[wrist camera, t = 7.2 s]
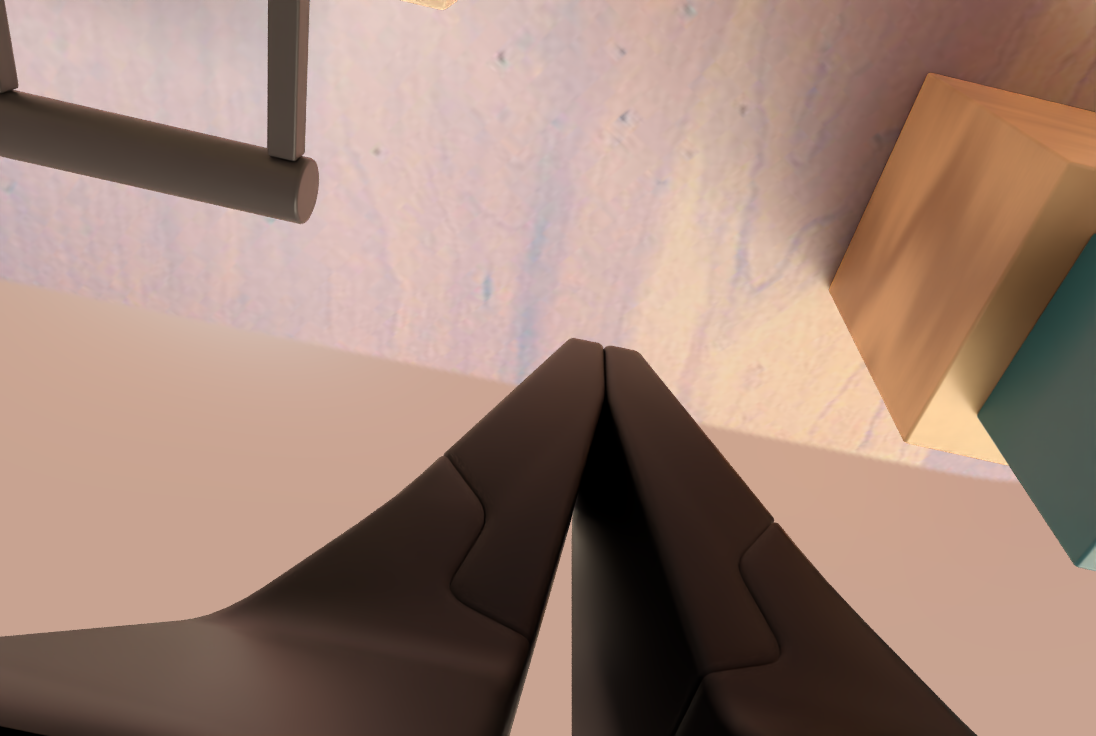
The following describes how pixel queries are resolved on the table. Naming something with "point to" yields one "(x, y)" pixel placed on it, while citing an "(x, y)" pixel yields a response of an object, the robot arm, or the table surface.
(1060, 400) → the block
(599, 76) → the table surface
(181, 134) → the drawer
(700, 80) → the table surface
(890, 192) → the riser
